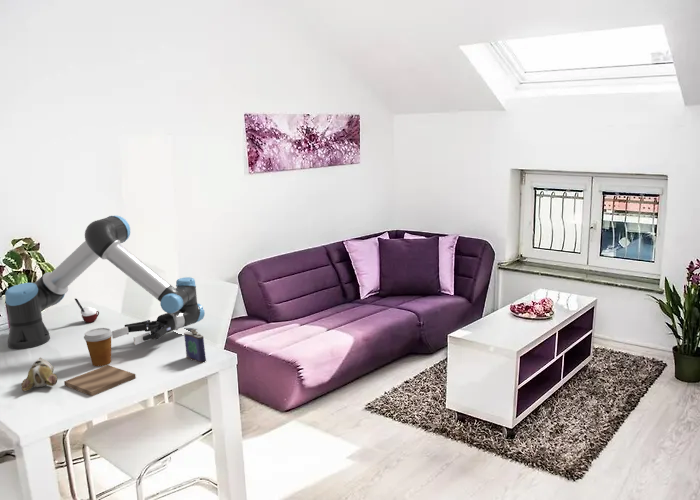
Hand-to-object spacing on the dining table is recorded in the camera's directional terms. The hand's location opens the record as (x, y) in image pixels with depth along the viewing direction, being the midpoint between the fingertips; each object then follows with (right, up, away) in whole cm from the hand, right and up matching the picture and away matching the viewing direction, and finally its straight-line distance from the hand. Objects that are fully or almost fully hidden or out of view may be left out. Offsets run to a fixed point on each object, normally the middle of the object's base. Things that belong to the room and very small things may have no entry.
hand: (123, 338), depth 223 cm
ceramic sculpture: (-18, -13, -23) cm, 32 cm away
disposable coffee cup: (-5, -8, -6) cm, 12 cm away
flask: (+29, -7, -7) cm, 31 cm away
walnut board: (+1, -11, -23) cm, 26 cm away
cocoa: (-32, +1, +44) cm, 54 cm away
